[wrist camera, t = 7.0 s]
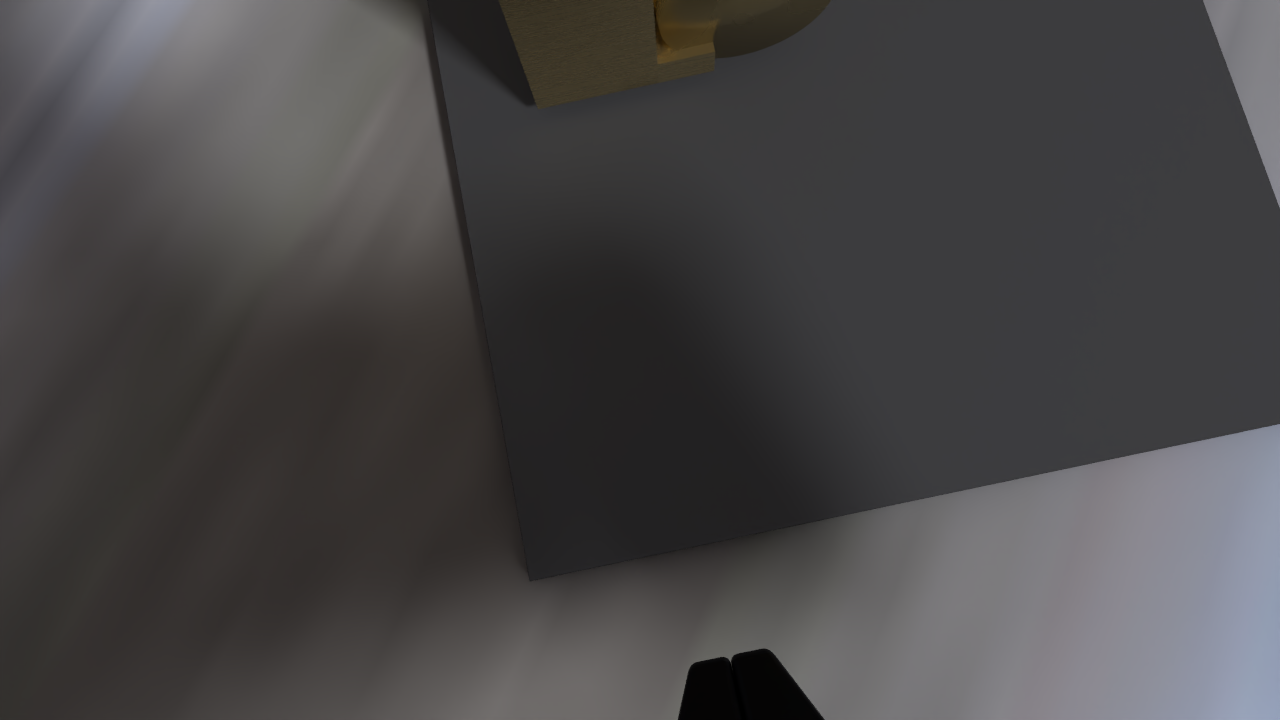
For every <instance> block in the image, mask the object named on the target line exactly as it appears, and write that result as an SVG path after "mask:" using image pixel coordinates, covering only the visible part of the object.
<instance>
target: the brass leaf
mask: <svg viewBox="0 0 1280 720" xmlns="http://www.w3.org/2000/svg"><path fill="white" fill-rule="evenodd" d="M830 1H831V0H499V3H500V6H501V9H502V11H503V14H504V17H505V20H506V22H507V25H508V28H509V31H510V33H511V36H512V39H513V42H514V44H515V47H516V50H517V53H518V55H519V58H520V61H521V64H522V66H523V69H524V72H525V75H526V77H527V80H528V83H529V86H530V88H531V91H532V94H533V97H534V99H535V102H536V105H537V108H538V109H542V108H547V107H551V106H556V105H561V104H565V103H570V102H574V101H579V100H583V99H588V98H593V97H597V96H602V95H606V94H611V93H615V92H620V91H625V90H629V89H634V88H638V87H643V86H648V85H652V84H657V83H661V82H666V81H670V80H675V79H680V78H684V77H689V76H693V75H698V74H703V73H707V72H712V71H714V65H715V58H728V57H735V56H740V55H745V54H749V53H753V52H756V51H759V50H762V49H765V48H767V47H770V46H772V45H775V44H777V43H779V42H781V41H783V40H785V39H787V38H789V37H791V36H792V35H794V34H796V33H797V32H799V31H800V30H802V29H803V28H805V27H806V26H807V25H808V24H810V23H811V22H812V21H813V20H814V19H816V18H817V17H818V16H819V15H820V14H821V13H822V11H823V10H824V9H825V8H826V7H827V5H828V4H829V3H830Z"/></svg>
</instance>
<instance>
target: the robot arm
mask: <svg viewBox="0 0 1280 720" xmlns="http://www.w3.org/2000/svg"><path fill="white" fill-rule="evenodd" d="M731 664H732V666H731ZM678 720H824V718H823V717H822V716H821V714H820V713H819V712H818V710H817V709H816V708H815V707H814V705H813V704H812V703H811V701H810V700H809V699H808V697H807V696H806V695H805V694H804V692H803V691H802V690H801V688H800V687H799V686H798V684H797V683H796V682H795V681H794V679H793V678H792V677H791V675H790V674H789V673H788V671H787V670H786V669H785V668H784V666H783V665H782V664H781V662H780V661H779V660H778V658H777V657H776V656H775V655H774V654H773V653H772V652H771V651H770V650H768V649H758V650H754V651H749V652H744V653H739V654H736V655H734V656H733V657H732V660H731V663H730V661H729V659H728V658H725V657H719V658H715V659H710V660H705V661H700V662H696V663H694V664H692V665H691V667H690V669H689V671H688V675H687V680H686V684H685V689H684V694H683V698H682V703H681V707H680V712H679V717H678Z"/></svg>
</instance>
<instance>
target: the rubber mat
mask: <svg viewBox="0 0 1280 720" xmlns="http://www.w3.org/2000/svg"><path fill="white" fill-rule="evenodd" d="M427 1H428V6H429V12H430V18H431V23H432V29H433V35H434V40H435V46H436V52H437V57H438V63H439V69H440V74H441V80H442V86H443V91H444V97H445V103H446V108H447V114H448V120H449V125H450V131H451V137H452V143H453V148H454V154H455V160H456V165H457V171H458V177H459V182H460V188H461V194H462V199H463V205H464V211H465V216H466V222H467V228H468V233H469V239H470V245H471V250H472V256H473V262H474V268H475V273H476V279H477V285H478V290H479V296H480V302H481V307H482V313H483V319H484V324H485V330H486V336H487V341H488V347H489V353H490V358H491V364H492V370H493V375H494V381H495V387H496V392H497V398H498V404H499V410H500V415H501V421H502V427H503V432H504V438H505V444H506V449H507V455H508V461H509V466H510V472H511V478H512V483H513V489H514V495H515V500H516V506H517V512H518V517H519V523H520V529H521V534H522V540H523V546H524V552H525V557H526V563H527V569H528V574H529V580H530V581H533V580H538V579H543V578H547V577H552V576H557V575H562V574H566V573H571V572H576V571H581V570H585V569H590V568H595V567H600V566H605V565H609V564H614V563H619V562H624V561H628V560H633V559H638V558H643V557H647V556H652V555H657V554H662V553H666V552H671V551H676V550H681V549H686V548H690V547H695V546H700V545H705V544H709V543H714V542H719V541H724V540H728V539H733V538H738V537H743V536H748V535H752V534H757V533H762V532H767V531H771V530H776V529H781V528H786V527H790V526H795V525H800V524H805V523H809V522H814V521H819V520H824V519H829V518H833V517H838V516H843V515H848V514H852V513H857V512H862V511H867V510H871V509H876V508H881V507H886V506H890V505H895V504H900V503H905V502H910V501H914V500H919V499H924V498H929V497H933V496H938V495H943V494H948V493H952V492H957V491H962V490H967V489H972V488H976V487H981V486H986V485H991V484H995V483H1000V482H1005V481H1010V480H1014V479H1019V478H1024V477H1029V476H1033V475H1038V474H1043V473H1048V472H1053V471H1057V470H1062V469H1067V468H1072V467H1076V466H1081V465H1086V464H1091V463H1095V462H1100V461H1105V460H1110V459H1115V458H1119V457H1124V456H1129V455H1134V454H1138V453H1143V452H1148V451H1153V450H1157V449H1162V448H1167V447H1172V446H1176V445H1181V444H1186V443H1191V442H1196V441H1200V440H1205V439H1210V438H1215V437H1219V436H1224V435H1229V434H1234V433H1238V432H1243V431H1248V430H1253V429H1258V428H1262V427H1267V426H1272V425H1277V424H1280V208H1279V205H1278V203H1277V200H1276V197H1275V194H1274V192H1273V189H1272V186H1271V184H1270V181H1269V178H1268V176H1267V173H1266V170H1265V167H1264V165H1263V162H1262V159H1261V157H1260V154H1259V151H1258V149H1257V146H1256V143H1255V140H1254V138H1253V135H1252V132H1251V130H1250V127H1249V124H1248V121H1247V119H1246V116H1245V113H1244V111H1243V108H1242V105H1241V103H1240V100H1239V97H1238V94H1237V92H1236V89H1235V86H1234V84H1233V81H1232V78H1231V76H1230V73H1229V70H1228V67H1227V65H1226V62H1225V59H1224V57H1223V54H1222V51H1221V49H1220V46H1219V43H1218V40H1217V38H1216V35H1215V32H1214V30H1213V27H1212V24H1211V21H1210V19H1209V16H1208V13H1207V11H1206V8H1205V5H1204V3H1203V0H831V1H830V3H829V4H828V5H827V7H826V8H825V9H824V10H823V11H822V13H821V14H820V15H819V16H818V17H817V18H816V19H814V20H813V21H812V22H811V23H810V24H808V25H807V26H806V27H805V28H803V29H802V30H800V31H799V32H797V33H796V34H794V35H792V36H791V37H789V38H787V39H785V40H783V41H781V42H779V43H777V44H775V45H772V46H770V47H767V48H765V49H762V50H759V51H756V52H753V53H749V54H745V55H740V56H735V57H728V58H715V65H714V71H712V72H707V73H703V74H698V75H693V76H689V77H684V78H680V79H675V80H670V81H666V82H661V83H657V84H652V85H648V86H643V87H638V88H634V89H629V90H625V91H620V92H615V93H611V94H606V95H602V96H597V97H593V98H588V99H583V100H579V101H574V102H570V103H565V104H561V105H556V106H551V107H547V108H542V109H538V108H537V105H536V102H535V99H534V97H533V94H532V91H531V88H530V86H529V83H528V80H527V77H526V75H525V72H524V69H523V66H522V64H521V61H520V58H519V55H518V53H517V50H516V47H515V44H514V42H513V39H512V36H511V33H510V31H509V28H508V25H507V22H506V20H505V17H504V14H503V11H502V9H501V6H500V3H499V0H427Z"/></svg>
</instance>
